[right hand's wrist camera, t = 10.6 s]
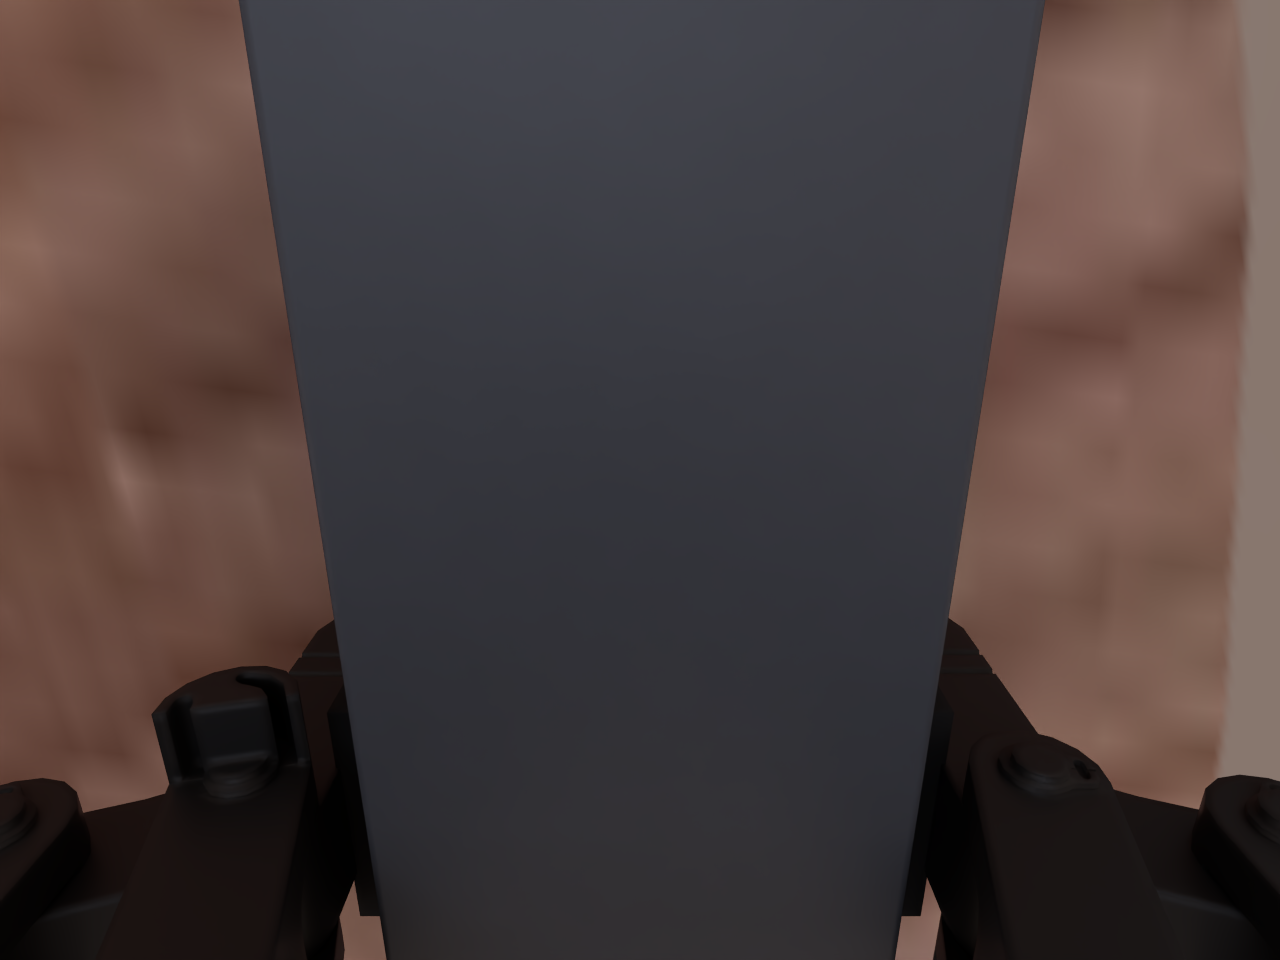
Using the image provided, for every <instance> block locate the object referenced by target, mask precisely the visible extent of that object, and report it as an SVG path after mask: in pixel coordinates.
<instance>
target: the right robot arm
mask: <svg viewBox="0 0 1280 960" xmlns="http://www.w3.org/2000/svg"><path fill="white" fill-rule="evenodd" d="M152 718H153V722H154V726H155V730H156V734H157V738H158V742H159V745H160V749H161V753H162V757H163V761H164V765H165V769H166V773H167V776H168V780H169V786H168V788H167V791H166V793H165V794H162V795H159V796H155V797H152V798H148V799H145V800H140V801H136V802H131V803H126V804H122V805H117V806H113V807H108V808H104V809H99V810H94V811H90V812H85V813H83V811H82V808H81V804H80V801H79V798H78V795H77V792H76V791H75V790H74V789H73V788H71V787H70V786H69V785H68V784H67V783H65V782H64V781H57V780H51V779H45V778H39V779H31V780H23V781H15V782H11V783H8V784H4V785H0V960H344V950H345V949H344V942H343V935H342V929H341V923H340V917H339V916H340V914H341V911H342V909H343V906H344V904H345V901H346V899H347V896H348V894H349V892H350V889H351V887H352V884H353V882H354V881H355V887H356V893H357V899H358V905H359V911H360V916H380V913H379V907H378V900H377V894H376V887H375V881H374V874H373V868H372V861H371V855H370V848H369V842H368V835H367V829H366V822H365V816H364V809H363V803H362V796H361V790H360V783H359V777H358V770H357V764H356V757H355V751H354V744H353V738H352V732H351V725H350V719H349V712H348V706H347V699H346V693H345V686H344V680H343V673H342V667H341V660H340V654H339V647H338V641H337V634H336V628H335V621H334V620H333V621H332V622H330V623H329V624H327V625H326V626H324V627H323V628H321V629H320V630H318V632H317V633H316V634H315V636H314V637H313V639H312V640H311V642H310V643H309V644H308V646H307V647H306V649H305V650H304V651H303V653H302V658H299V659H298V660H297V661H296V663H295V664H294V666H293V667H292V669H291V670H290V671H289V673H288V672H286V671H284V670H280V669H276V668H272V667H268V666H248V667H237V668H233V669H228V670H223V671H219V672H214V673H212V674H209V675H207V676H204V677H202V678H199V679H197V680H194V681H192V682H190V683H187V684H186V685H184V686H183V687H181V688H180V689H178V690H177V691H175V692H174V693H172V694H171V695H169V696H168V697H166V698H165V699H164V700H163V701H162V703H161V704H160V705H159V706H158V707H157V709H156V710H155V711H154V712H153V713H152ZM927 878H928V880H929V883H930V885H931V888H932V890H933V893H934V895H935V898H936V900H937V903H938V905H939V908H940V910H941V917H940V923H939V929H938V934H937V940H936V945H935V951H934V957H933V960H1280V781H1276V780H1273V779H1269V778H1262V777H1254V776H1246V775H1235V776H1229V777H1222V778H1217V779H1216V780H1215V781H1214V782H1213V783H1211V784H1210V785H1209V786H1208V787H1207V788H1206V789H1205V792H1204V795H1203V798H1202V802H1201V805H1200V808H1199V810H1198V809H1193V808H1189V807H1184V806H1179V805H1175V804H1170V803H1166V802H1161V801H1156V800H1152V799H1147V798H1143V797H1138V796H1134V795H1131V794H1127V793H1124V792H1120V791H1117V790H1114V789H1113V787H1112V785H1111V783H1110V781H1109V780H1108V778H1107V777H1106V776H1105V774H1104V773H1103V771H1102V770H1101V768H1100V767H1099V766H1098V765H1097V764H1096V763H1095V762H1093V761H1092V760H1091V759H1089V758H1088V757H1087V756H1086V755H1084V754H1083V753H1082V752H1080V751H1079V750H1078V749H1076V748H1074V747H1071V746H1069V745H1067V744H1065V743H1063V742H1061V741H1059V740H1057V739H1054V738H1052V737H1048V736H1044V735H1040V734H1038V733H1037V732H1036V730H1035V729H1034V727H1033V726H1032V725H1031V723H1030V722H1029V720H1028V719H1027V718H1026V716H1025V715H1024V713H1023V712H1022V711H1021V709H1020V708H1019V706H1018V705H1017V703H1016V702H1015V701H1014V699H1013V698H1012V696H1011V695H1010V694H1009V692H1008V691H1007V689H1006V688H1005V686H1004V685H1003V684H1002V682H1001V681H1000V679H999V678H998V677H997V675H996V674H993V673H992V668H991V667H990V665H989V664H988V662H987V661H986V660H985V658H984V657H983V655H979V650H978V648H977V647H976V646H975V644H974V643H973V641H972V640H971V638H970V637H969V636H968V634H967V633H966V631H965V630H964V629H963V628H962V627H961V626H959V625H958V624H956V623H955V622H953V621H952V620H950V619H949V618H948V623H947V629H946V636H945V642H944V648H943V655H942V661H941V668H940V674H939V680H938V687H937V693H936V699H935V706H934V712H933V719H932V725H931V731H930V738H929V744H928V751H927V757H926V763H925V770H924V776H923V782H922V789H921V795H920V802H919V808H918V814H917V821H916V827H915V833H914V840H913V846H912V853H911V859H910V865H909V872H908V878H907V885H906V891H905V897H904V904H903V910H902V916H921V910H922V904H923V898H924V892H925V886H926V880H927Z"/></svg>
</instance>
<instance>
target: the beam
mask: <svg viewBox="0 0 1280 960" xmlns="http://www.w3.org/2000/svg"><path fill="white" fill-rule="evenodd" d="M239 4H240V11H241V17H242V24H243V30H244V37H245V43H246V50H247V56H248V63H249V69H250V76H251V82H252V89H253V95H254V102H255V108H256V115H257V121H258V128H259V134H260V141H261V147H262V154H263V160H264V167H265V173H266V180H267V186H268V193H269V199H270V206H271V212H272V219H273V225H274V232H275V238H276V245H277V251H278V258H279V264H280V271H281V277H282V284H283V290H284V297H285V303H286V310H287V316H288V322H289V329H290V335H291V342H292V348H293V355H294V361H295V368H296V374H297V381H298V387H299V394H300V400H301V407H302V413H303V420H304V426H305V433H306V439H307V446H308V452H309V459H310V465H311V472H312V478H313V485H314V491H315V498H316V504H317V511H318V517H319V524H320V530H321V537H322V543H323V550H324V556H325V563H326V569H327V576H328V582H329V589H330V595H331V602H332V608H333V615H334V621H335V628H336V634H337V641H338V647H339V654H340V660H341V667H342V673H343V680H344V686H345V693H346V699H347V706H348V712H349V719H350V725H351V732H352V738H353V744H354V751H355V757H356V764H357V770H358V777H359V783H360V790H361V796H362V803H363V809H364V816H365V822H366V829H367V835H368V842H369V848H370V855H371V861H372V868H373V874H374V881H375V887H376V894H377V900H378V907H379V913H380V920H381V926H382V933H383V939H384V946H385V952H386V959H387V960H895V955H896V948H897V942H898V936H899V929H900V923H901V916H902V910H903V904H904V897H905V891H906V885H907V878H908V872H909V865H910V859H911V853H912V846H913V840H914V833H915V827H916V821H917V814H918V808H919V802H920V795H921V789H922V782H923V776H924V770H925V763H926V757H927V751H928V744H929V738H930V731H931V725H932V719H933V712H934V706H935V699H936V693H937V687H938V680H939V674H940V668H941V661H942V655H943V648H944V642H945V636H946V629H947V623H948V616H949V610H950V604H951V597H952V591H953V585H954V578H955V572H956V565H957V559H958V553H959V546H960V540H961V534H962V527H963V521H964V514H965V508H966V502H967V495H968V489H969V482H970V476H971V470H972V463H973V457H974V451H975V444H976V438H977V431H978V425H979V419H980V412H981V406H982V399H983V393H984V387H985V380H986V374H987V368H988V361H989V355H990V348H991V342H992V336H993V329H994V323H995V316H996V310H997V304H998V297H999V291H1000V285H1001V278H1002V272H1003V265H1004V259H1005V253H1006V246H1007V240H1008V234H1009V227H1010V221H1011V214H1012V208H1013V202H1014V195H1015V189H1016V182H1017V176H1018V170H1019V163H1020V157H1021V151H1022V144H1023V138H1024V131H1025V125H1026V119H1027V112H1028V106H1029V99H1030V93H1031V87H1032V80H1033V74H1034V68H1035V61H1036V55H1037V48H1038V42H1039V36H1040V29H1041V23H1042V16H1043V10H1044V4H1045V0H239Z"/></svg>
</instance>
